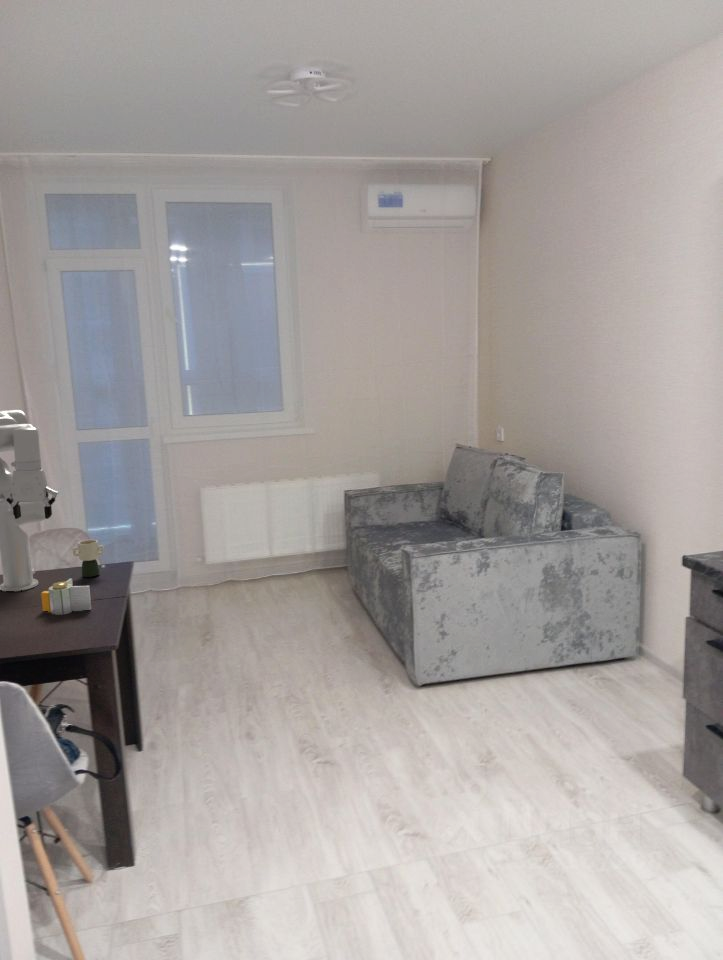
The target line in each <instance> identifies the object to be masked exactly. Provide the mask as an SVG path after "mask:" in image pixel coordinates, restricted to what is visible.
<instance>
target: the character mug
mask: <svg viewBox="0 0 723 960" xmlns="http://www.w3.org/2000/svg"><path fill="white" fill-rule="evenodd" d="M99 549H101V551H99ZM76 551H77V552H78V553H77V552H76ZM72 554H73V556H74V557H78V558H79V559H78V560H80V561H82V562H81V576H82V577H85V578H92V577H95V576H97V575H100V569H99V564H98V560H97V559H99V557H100V555H104V554H105V547H104V545H99V542H98V540H97V539H86V540H85V539H84V540H80V541H77V547H75V546H74V547H73V548H72Z"/></svg>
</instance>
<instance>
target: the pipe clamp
mask: <svg viewBox="0 0 723 960" xmlns="http://www.w3.org/2000/svg"><path fill="white" fill-rule="evenodd" d="M40 594H41V595H40V596H41V604H42V605H41V606H42V612H43V611H48V612H47V613H51V610H50V600H49V590H44V591H42V592H41V593H40Z"/></svg>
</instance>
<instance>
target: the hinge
mask: <svg viewBox="0 0 723 960" xmlns="http://www.w3.org/2000/svg"><path fill="white" fill-rule="evenodd" d="M65 582H67V584H68V586H67V587H66V588H63V589H53V585H52V586H49V587H48V590H47V591H49V600H50V610H51V612H50V614H52V615H54V614H55V615H54V616H59V615H60V616H62V615H67V614H71V613H73V612H83V611H82V610H91V609H92V601H91V599H92V598H91V590H90V589H91V588H90V585H74V584H73V578H68V579H67V580H66V581H65ZM73 585H74V586H73ZM72 611H73V612H72ZM91 611H92V610H91ZM70 612H71V613H70Z"/></svg>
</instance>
